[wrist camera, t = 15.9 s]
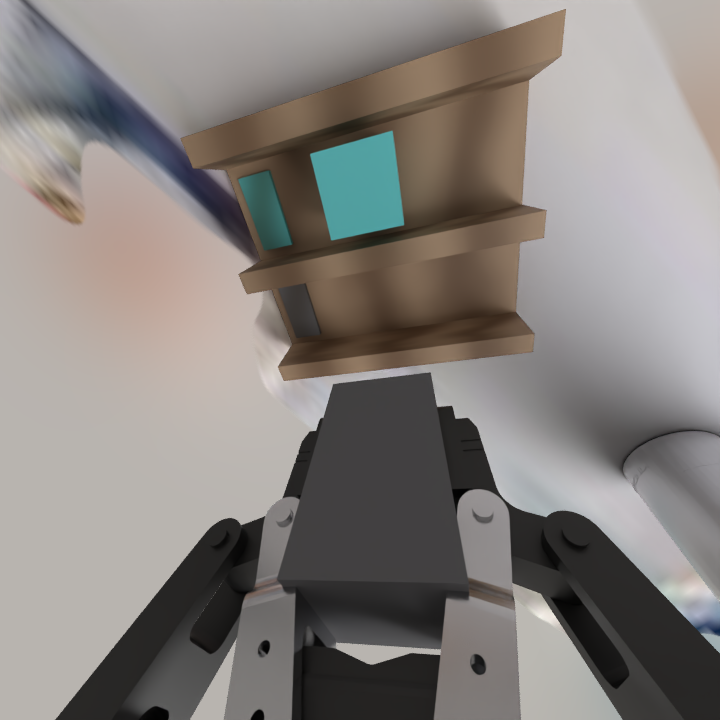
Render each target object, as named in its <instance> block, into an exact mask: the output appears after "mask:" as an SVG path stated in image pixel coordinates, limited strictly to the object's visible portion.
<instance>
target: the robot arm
mask: <svg viewBox="0 0 720 720" xmlns="http://www.w3.org/2000/svg"><path fill="white" fill-rule="evenodd" d="M437 411H438V416H439V422H440V427H441V433H442V438H443V444H444V449H445V455H446V460H447V466H448V471H449V477H450V482H451V488H452V493H453V499H454V504H455V510H456V515H457V521H458V526H459V532H460V537H461V543H462V548H463V554H464V560H465V565H466V571H467V576H468V582H469V592H465V591H450V590H447V597H446V606H445V616H444V626H443V635H442V645H441V655H430V654H416V653H410V654H407V655H404V656H401V657H398V658H394V659H391V660H387V661H384V662H381V663H378V664H374V665H370V664H366V663H365V662H362V661H360V660H358V659H356V658H354V657H352V656H350V655H348V654H346V653H343V652H341V651H339V650H337V649H336V639H335V637H334V636H333V635H332V633H331V632H330V631H329V630H328V628H327V627H326V626H325V624H324V623H323V622H322V620H321V619H320V618H319V616H318V615H317V614H316V612H315V611H314V610H313V608H312V607H311V606H310V604H309V603H308V602H307V600H306V599H305V598H304V596H303V595H302V594H301V592H300V591H299V590H298V588H297V587H296V586H290V587H282V585H281V584H280V583H279V582H278V580H277V577H278V573H279V570H280V566H281V563H282V559H283V556H284V553H285V549H286V546H287V542H288V539H289V535H290V532H291V528H292V525H293V521H294V518H295V515H296V511H297V508H298V504H299V501H300V497H301V494H302V490H303V487H304V484H305V480H306V477H307V473H308V470H309V466H310V463H311V459H312V456H313V452H314V449H315V446H316V442H317V439H318V435H319V432H320V428H321V425H322V421H323V418H321V419H320V421H319V424H318V427H317V430H316V431H310V432H309V433H308V435H307V436H306V437H305V438H304V440H303V441H302V443H301V446H300V449H299V454H298V455H297V458H296V463H295V464H294V467H293V470H292V472H291V475H290V479H289V481H288V484H287V487H286V490H285V493H284V496H283V498H282V499H281V500H279V501H277V502H276V503H275V504H274V505H272V507H271V508H270V509H269V510H268V512H267V514H266V516H264V517H262V518H260V519H257V520H254V521H252V522H249V523H246V524H244V525H240V523H239V522H238V521H237V520H235V519H232V518H228V519H223V520H221V521H219V522H218V523H216V524H215V525H213V526H212V527H211V528H210V529H209V530H208V531H207V532H206V533H205V535H204V536H203V537H202V538H201V540H200V541H199V542H198V543H197V544H196V546H195V547H194V548H193V549H192V551H191V552H190V553H189V554H188V556H187V557H186V558H185V559H184V561H183V562H182V563H181V564H180V566H179V567H178V568H177V570H176V571H175V572H174V573H173V574H172V575H171V577H170V578H169V579H168V580H167V582H166V583H165V584H164V585H163V587H162V588H161V589H160V590H159V592H158V593H157V594H156V595H155V597H154V598H153V599H152V600H151V602H150V603H149V604H148V605H147V607H146V608H145V609H144V610H143V612H142V613H141V614H140V615H139V616H138V618H137V619H136V620H135V621H134V623H133V624H132V625H131V627H130V628H129V629H128V630H127V632H126V633H125V634H124V635H123V636H122V638H121V639H120V640H119V641H118V643H117V644H116V645H115V646H114V648H113V649H112V650H111V651H110V653H109V654H108V655H107V656H106V657H105V659H104V660H103V661H102V663H101V664H100V665H99V666H98V667H97V669H96V670H95V671H94V673H93V674H92V675H91V676H90V677H89V679H88V680H87V681H86V682H85V684H84V685H83V686H82V687H81V689H80V690H79V691H78V692H77V694H76V695H75V696H74V697H73V698H72V700H71V701H70V702H69V703H68V705H67V706H66V707H65V708H64V710H63V711H62V712H61V713H60V715H59V716H58V717H57V718H56V720H190V718H191V716H192V715H193V713H194V711H195V710H196V708H197V706H198V704H199V702H200V700H201V699H202V697H203V696H204V694H205V692H206V690H207V688H208V687H209V685H210V683H211V682H212V680H213V678H214V676H215V675H216V673H217V671H218V669H219V668H220V666H221V664H222V663H223V661H224V659H225V657H226V656H227V654H228V652H229V650H230V649H231V647H232V645H233V643H234V642H235V640H236V638H237V641H236V647H235V653H234V660H233V667H232V672H231V679H230V685H229V691H228V697H227V704H226V710H225V716H224V720H521V714H520V694H519V693H520V692H519V672H518V655H517V654H518V652H517V631H516V613H515V602H514V597H513V587H512V583H514V584H517V585H519V586H522V587H525V588H527V589H530V590H533V591H535V592H538V593H541V595H542V596H543V598H544V599H545V601H546V602H547V604H548V605H549V607H550V609H551V610H552V612H553V613H554V615H555V616H556V618H557V619H558V621H559V622H560V624H561V625H562V627H563V629H564V630H565V632H566V633H567V635H568V636H569V638H570V639H571V641H572V642H573V644H574V645H575V647H576V648H577V650H578V652H579V653H580V654H581V656H582V658H583V659H584V661H585V662H586V664H587V665H588V667H589V668H590V670H591V671H592V673H593V675H594V676H595V678H596V679H597V681H598V682H599V684H600V685H601V687H602V688H603V690H604V691H605V693H606V695H607V696H608V698H609V699H610V701H611V702H612V704H613V705H614V707H615V708H616V710H617V711H618V713H619V715H620V716H621V718H622V719H623V720H720V653H719V652H718V651H717V650H716V649H714V647H713V646H712V645H711V644H710V643H709V642H708V641H707V640H706V639H705V638H704V637H703V636H702V635H701V634H700V633H699V631H698V630H697V629H696V628H695V627H694V626H693V625H692V624H691V623H690V622H689V621H688V620H687V619H686V618H685V617H684V616H683V615H682V614H681V613H680V612H679V611H678V610H677V609H676V608H675V606H674V605H673V604H672V603H671V602H670V601H669V600H668V599H667V598H666V597H665V596H664V595H663V594H662V593H661V592H660V591H659V590H658V589H657V588H656V587H655V586H654V585H653V584H652V583H651V582H650V580H649V579H648V578H647V577H646V576H645V575H644V574H643V573H642V572H641V571H640V570H639V569H638V568H637V567H636V566H635V565H634V564H633V563H632V562H631V561H630V560H629V559H628V558H627V557H626V555H625V554H624V553H623V552H622V551H621V550H620V549H619V548H618V547H617V546H616V545H615V544H614V543H613V542H612V541H611V540H610V539H609V538H608V537H607V536H606V535H605V534H604V533H603V532H602V530H601V529H600V528H599V527H598V526H596V525H595V524H594V523H593V522H592V521H590V520H589V519H587V518H586V517H584V516H582V515H580V514H577V513H574V512H570V511H557V512H553V513H551V514H550V515H548V516H547V517H543V516H539V515H536V514H532V513H528V512H525V511H522V510H519V509H517V508H515V507H513V506H512V505H510V504H509V503H508V502H506V501H505V500H504V499H503V497H502V496H501V495H500V493H499V492H498V490H497V488H496V485H495V482H494V478H493V475H492V472H491V469H490V466H489V463H488V460H487V457H486V454H485V451H484V448H483V444H482V441H481V438H480V435H479V432H478V429H477V427H476V426H475V425H474V424H473V423H472V422H471V421H470V419H469V418H462V419H455V415H454V411H453V408H452V406H445V407H437ZM623 472H624V475H625V476H626V478H627V479H628V481H629V482H630V483H631V485H632V486H633V488H634V489H635V491H636V492H637V493H638V494H639V495H640V497H641V498H642V499H643V501H644V502H645V503H646V505H647V506H648V507H649V509H650V510H651V512H652V513H653V514H654V516H655V517H656V518H657V520H658V521H659V522H660V524H661V525H662V526H663V528H664V529H665V530H666V532H667V533H668V534H669V536H670V537H671V538H672V540H673V541H674V542H675V544H676V545H677V546H678V548H679V549H680V550H681V552H682V553H683V554H684V556H685V557H686V558H687V560H688V561H689V562H690V564H691V565H692V566H693V568H694V569H695V570H696V572H697V573H698V574H699V576H700V577H701V578H702V580H703V581H704V582H705V584H706V585H707V586H708V588H709V589H710V590H711V592H712V593H713V594H714V595H715V597H716V598H717V599H718V601H719V602H720V437H719V436H717V435H715V434H712V433H708V432H700V431H685V432H678V433H672V434H668V435H664V436H661V437H658V438H656V439H653V440H651V441H648V442H647V443H645V444H643V445H641V446H640V447H638V448H637V449H636V450H634V451H633V452H632V453H631V454H630V455H629V456H628V457H627V459H626V461H625V463H624V466H623ZM221 583H222V584H221ZM219 586H220V587H219ZM217 589H218V590H217ZM215 592H216V593H215ZM213 595H214V596H213ZM211 598H212V599H211ZM204 608H205V609H204ZM202 611H203V612H202ZM200 614H201V615H200ZM198 617H199V618H198ZM196 620H197V621H196Z"/></svg>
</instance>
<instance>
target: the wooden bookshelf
mask: <svg viewBox="0 0 720 720" xmlns="http://www.w3.org/2000/svg"><path fill="white" fill-rule="evenodd" d="M565 13H566V9H564V10H561V11H558V12H555V13H552V14H549V15H546V16H543V17H540V18H537V19H534V20H531V21H528V22H525V23H522V24H519V25H516V26H513V27H510V28H507V29H504V30H502V31H499V32H496V33H493V34H490V35H487V36H484V37H481V38H478V39H475V40H472V41H469V42H466V43H463V44H460V45H457V46H454V47H451V48H448V49H445V50H442V51H439V52H436V53H433V54H430V55H427V56H424V57H421V58H418V59H415V60H412V61H409V62H406V63H403V64H400V65H397V66H394V67H391V68H388V69H385V70H382V71H379V72H376V73H373V74H371V75H368V76H365V77H362V78H359V79H356V80H353V81H350V82H347V83H344V84H341V85H338V86H335V87H332V88H329V89H326V90H323V91H320V92H317V93H314V94H311V95H308V96H305V97H302V98H299V99H296V100H293V101H290V102H287V103H284V104H281V105H278V106H275V107H272V108H269V109H266V110H263V111H260V112H257V113H254V114H251V115H248V116H245V117H242V118H240V119H237V120H234V121H231V122H228V123H225V124H222V125H219V126H216V127H213V128H210V129H207V130H204V131H201V132H198V133H195V134H192V135H189V136H186V137H183V138H180V139H181V141H182V143H183V146H184V148H185V150H186V153H187V155H188V157H189V160H190V162H191V164H192V167H193V169H215V170H227V173H228V175H229V178H230V181H231V183H232V186H233V189H234V191H235V194H236V197H237V199H238V202H239V204H240V207H241V210H242V212H243V215H244V218H245V220H246V223H247V226H248V228H249V231H250V233H251V236H252V239H253V241H254V244H255V247H256V249H257V252H258V255H259V257H260V260H261V261H260V262H258V263H257V264H255V265H253V266H252V267H250V268H248V269H247V270H245V271H243V272H242V273H240V274H239V277H240V279H241V281H242V284H243V286H244V289H245V291H246V293H247V294H251V293H256V292H262V291H267V290H272V291H273V294H274V297H275V299H276V302H277V305H278V307H279V310H280V313H281V315H282V318H283V320H284V323H285V326H286V328H287V331H288V334H289V336H290V339H291V342H292V346H291V347H290V349H289V350H288V352H287V354H286V355H285V357H284V358H283V360H282V361H281V363H280V364H279V366H278V368H279V371H280V373H281V375H282V378H283V380H284V381H288V380H296V379H305V378H314V377H322V376H331V375H339V374H348V373H357V372H365V371H374V370H382V369H391V368H400V367H408V366H417V365H425V364H434V363H443V362H451V361H460V360H468V359H477V358H486V357H494V356H503V355H511V354H520V353H529V352H533V345H534V333H533V332H532V330H531V329H530V328H529V327H528V326H527V325H526V323H525V322H524V321H523V320H522V319H521V318H520V316H519V315H518V314H517V313H516V298H517V281H518V264H519V246H520V242H524V241H530V240H535V239H540V238H544V231H545V220H546V210H543V209H538V208H534V207H530V206H525V205H522V194H523V177H524V160H525V142H526V125H527V107H528V90H529V80H530V79H531V78H533V77H534V76H535V75H537V74H538V73H539V72H541V71H542V70H543V69H545V68H546V67H547V66H548V65H550V64H551V63H552V62H554V61H555V60H556V59H558V58H559V57H560V56H561V54H562V44H563V34H564V23H565ZM389 131H393V137H394V143H395V150H396V158H397V167H398V175H399V183H400V191H401V199H402V207H403V217H404V225H402V226H398V227H393V228H388V229H383V230H379V231H374V232H369V233H365V234H360V235H355V236H351V237H346V238H341V239H337V240H332V241H331V237H330V233H329V229H328V225H327V221H326V217H325V213H324V209H323V205H322V200H321V196H320V192H319V188H318V184H317V180H316V176H315V172H314V168H313V164H312V160H311V156H310V154H311V153H315V152H319V151H322V150H326V149H329V148H333V147H336V146H340V145H343V144H347V143H350V142H354V141H357V140H361V139H365V138H368V137H372V136H375V135H379V134H382V133H386V132H389Z"/></svg>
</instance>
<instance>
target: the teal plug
mask: <svg viewBox="0 0 720 720" xmlns="http://www.w3.org/2000/svg"><path fill="white" fill-rule="evenodd" d="M310 156H311V160H312V164H313V168H314V172H315V176H316V180H317V184H318V188H319V192H320V196H321V200H322V205H323V209H324V213H325V217H326V221H327V225H328V229H329V233H330V237H331V241H332V240H337V239H341V238H346V237H351V236H355V235H360V234H365V233H369V232H374V231H379V230H383V229H388V228H393V227H398V226H402V225H404V217H403V207H402V199H401V191H400V183H399V175H398V167H397V158H396V150H395V143H394V137H393V131H389V132H386V133H382V134H379V135H375V136H372V137H368V138H365V139H361V140H357V141H354V142H350V143H347V144H343V145H340V146H336V147H333V148H329V149H326V150H322V151H319V152H315V153H311V154H310Z"/></svg>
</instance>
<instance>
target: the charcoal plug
mask: <svg viewBox="0 0 720 720" xmlns="http://www.w3.org/2000/svg"><path fill="white" fill-rule="evenodd" d="M277 580H278V582H279V583H280V584H281V585H282V587H290V586H296V587H297V588H298V590H299V591H300V592H301V594H302V595H303V596H304V598H305V599H306V600H307V602H308V603H309V604H310V606H311V607H312V608H313V610H314V611H315V612H316V614H317V615H318V616H319V618H320V619H321V620H322V622H323V623H324V624H325V626H326V627H327V628H328V630H329V631H330V632H331V633H332V635H333V636H334V637H335V639H336V642H337V643H352V644H368V645H384V646H399V647H413V648H414V647H415V648H429V649H441V645H442V635H443V626H444V616H445V606H446V597H447V590H450V591H465V592H469V582H468V576H467V571H466V565H465V560H464V554H463V548H462V543H461V537H460V532H459V526H458V521H457V515H456V510H455V504H454V499H453V493H452V488H451V482H450V477H449V471H448V466H447V460H446V455H445V449H444V444H443V438H442V433H441V427H440V422H439V416H438V411H437V405H436V400H435V394H434V389H433V383H432V378H431V372H430V373H422V374H414V375H405V376H397V377H389V378H381V379H372V380H364V381H356V382H347V383H339V384H333V387H332V390H331V394H330V397H329V401H328V404H327V408H326V411H325V415H324V418H323V421H322V425H321V428H320V432H319V435H318V439H317V442H316V446H315V449H314V452H313V456H312V459H311V463H310V466H309V470H308V473H307V477H306V480H305V484H304V487H303V490H302V494H301V497H300V501H299V504H298V508H297V511H296V515H295V518H294V521H293V525H292V528H291V532H290V535H289V539H288V542H287V546H286V549H285V553H284V556H283V559H282V563H281V566H280V570H279V573H278V577H277Z"/></svg>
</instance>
